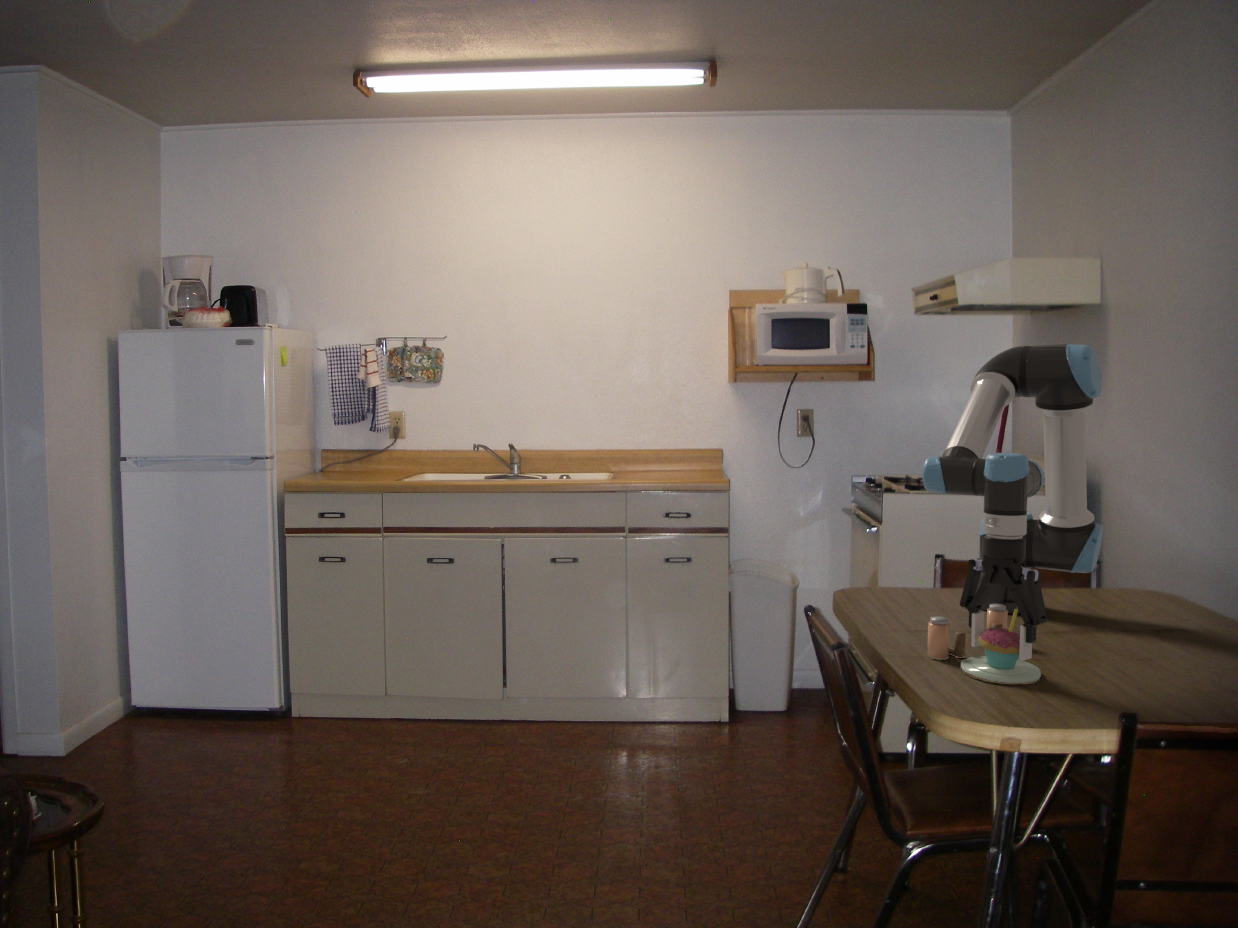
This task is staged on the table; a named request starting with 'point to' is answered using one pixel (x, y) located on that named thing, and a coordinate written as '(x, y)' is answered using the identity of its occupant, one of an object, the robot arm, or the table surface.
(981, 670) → the plate
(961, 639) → the rack
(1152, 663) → the table surface
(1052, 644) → the table surface
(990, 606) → the shaker
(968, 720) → the table surface
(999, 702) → the table surface
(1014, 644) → the cupcake
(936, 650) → the shaker
